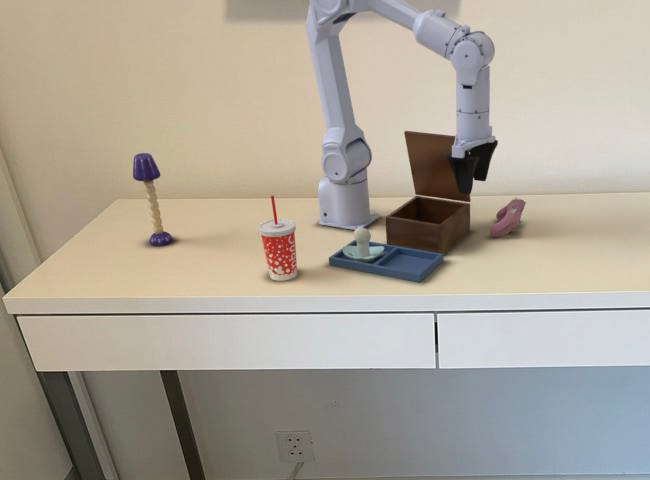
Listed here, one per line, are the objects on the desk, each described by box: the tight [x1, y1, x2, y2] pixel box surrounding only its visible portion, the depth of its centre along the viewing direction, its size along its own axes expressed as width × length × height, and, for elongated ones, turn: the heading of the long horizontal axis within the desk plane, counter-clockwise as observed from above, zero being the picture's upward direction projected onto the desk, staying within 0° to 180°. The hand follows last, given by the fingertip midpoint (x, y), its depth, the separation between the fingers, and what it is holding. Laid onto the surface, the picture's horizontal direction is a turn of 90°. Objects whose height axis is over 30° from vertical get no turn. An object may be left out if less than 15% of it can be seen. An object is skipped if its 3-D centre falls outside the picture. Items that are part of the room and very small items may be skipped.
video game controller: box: [489, 197, 527, 238], centre depth 143 cm, size 10×5×7 cm, turn 168°
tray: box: [328, 239, 444, 283], centre depth 132 cm, size 9×18×2 cm, turn 65°
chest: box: [384, 195, 471, 256], centre depth 140 cm, size 12×11×6 cm
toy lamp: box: [132, 152, 174, 247], centre depth 138 cm, size 5×5×17 cm
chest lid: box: [403, 130, 472, 203], centre depth 138 cm, size 13×11×1 cm
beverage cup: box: [257, 195, 298, 282], centre depth 125 cm, size 6×6×14 cm
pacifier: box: [341, 227, 384, 263], centre depth 132 cm, size 7×6×6 cm
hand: (472, 186), depth 136 cm, fingers open, 7 cm apart
